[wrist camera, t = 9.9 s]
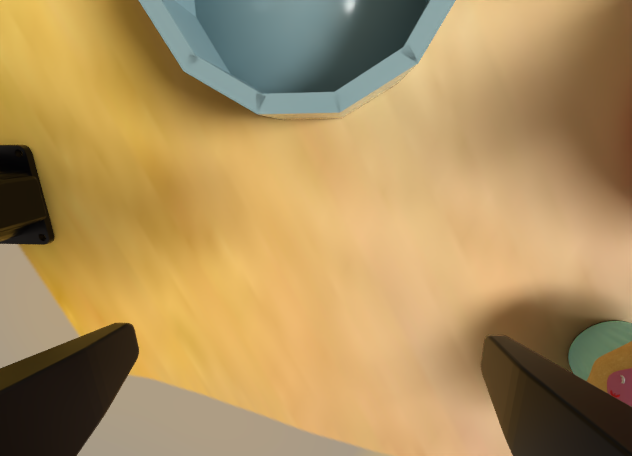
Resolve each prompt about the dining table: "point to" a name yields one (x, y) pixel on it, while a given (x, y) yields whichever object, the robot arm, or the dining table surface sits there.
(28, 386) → the robot arm
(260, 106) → the bowl
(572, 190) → the dining table surface
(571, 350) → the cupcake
